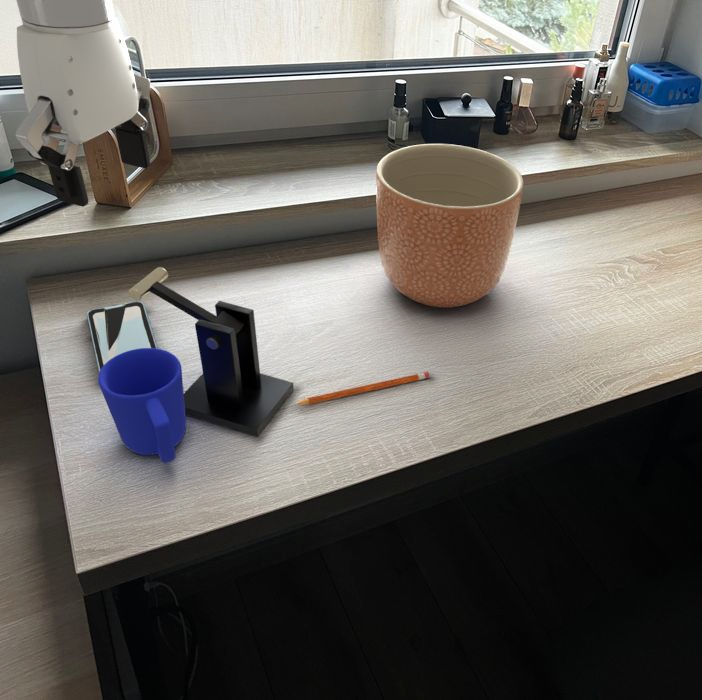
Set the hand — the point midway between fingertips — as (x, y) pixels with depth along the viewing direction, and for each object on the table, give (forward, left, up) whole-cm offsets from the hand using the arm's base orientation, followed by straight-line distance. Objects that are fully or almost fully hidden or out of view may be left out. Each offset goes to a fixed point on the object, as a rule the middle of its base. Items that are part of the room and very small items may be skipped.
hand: (106, 182), depth 75 cm
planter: (+27, +35, -26) cm, 52 cm away
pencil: (+26, +8, -26) cm, 38 cm away
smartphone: (-7, +4, -26) cm, 27 cm away
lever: (+7, 0, -15) cm, 16 cm away
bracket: (+12, 0, -26) cm, 29 cm away
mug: (+8, -10, -26) cm, 30 cm away
